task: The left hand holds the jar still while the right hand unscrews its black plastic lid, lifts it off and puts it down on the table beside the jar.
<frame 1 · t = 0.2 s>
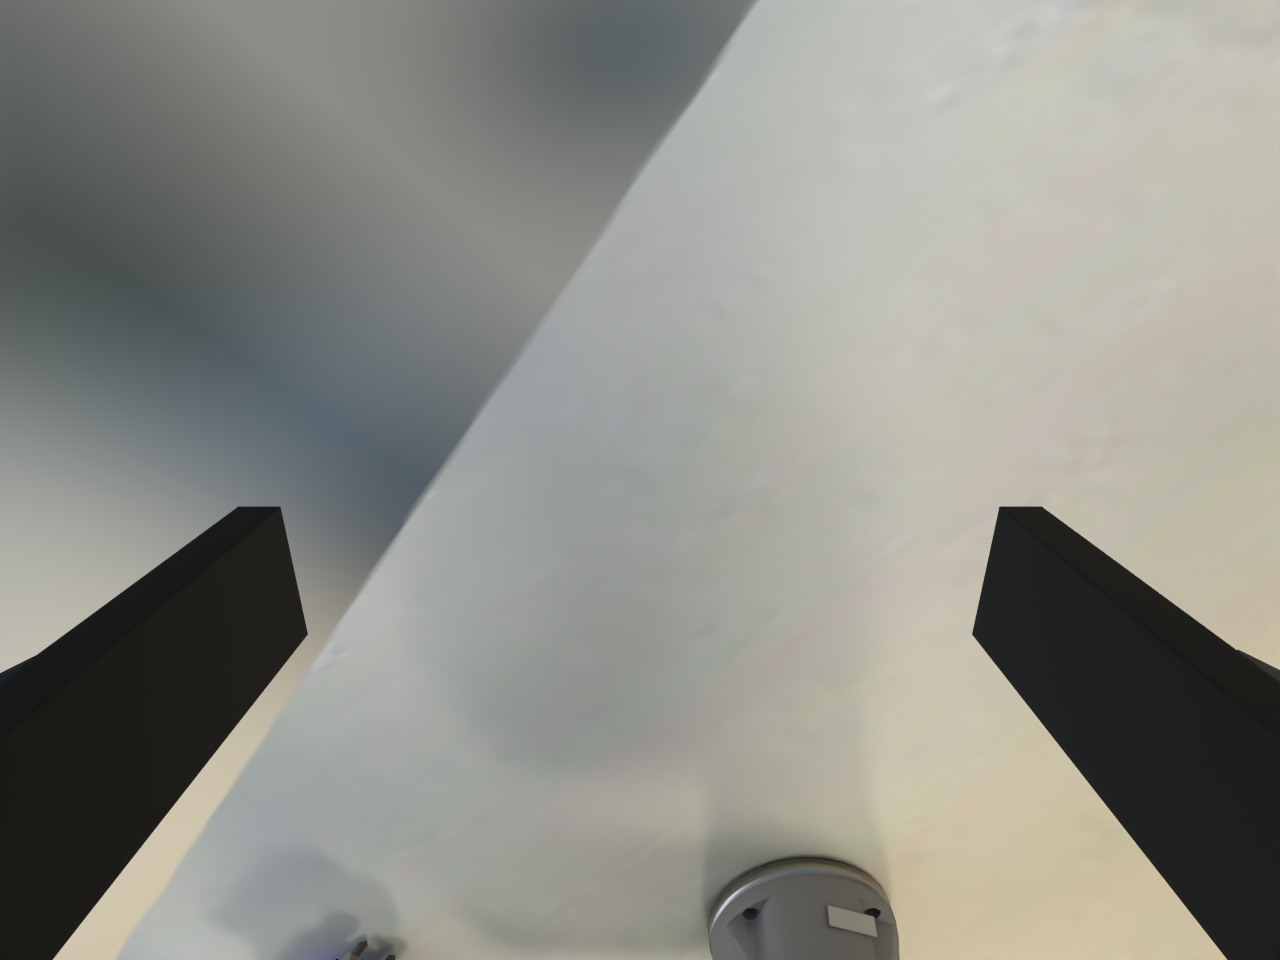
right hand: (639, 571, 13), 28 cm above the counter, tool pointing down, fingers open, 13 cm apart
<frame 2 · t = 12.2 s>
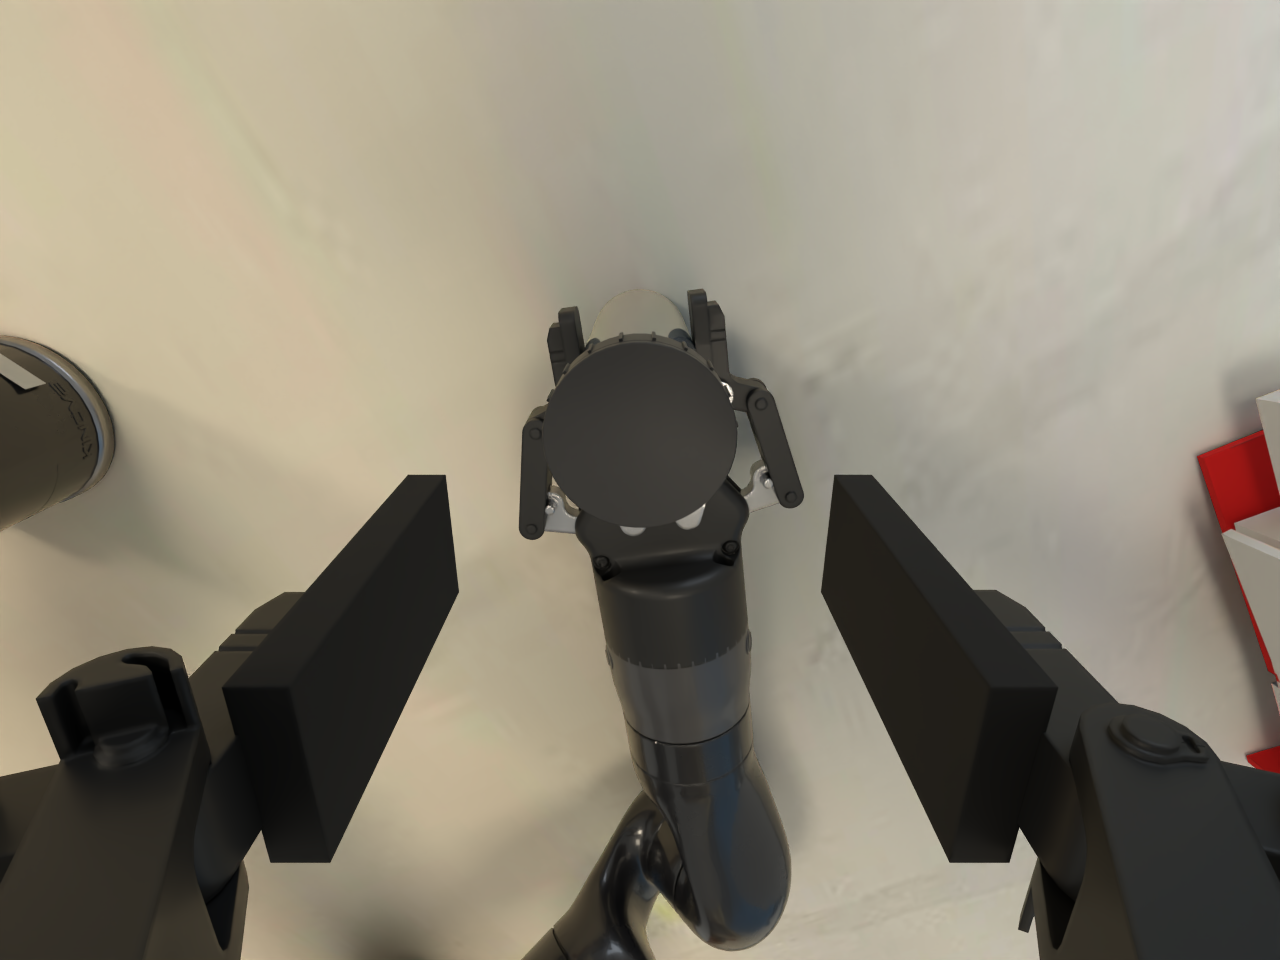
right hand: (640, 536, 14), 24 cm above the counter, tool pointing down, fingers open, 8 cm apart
left hand: (632, 302, 29), fingers closed on jar, 5 cm apart
jar: (639, 337, 36), on the counter, touching left hand
lid: (639, 436, 20), point 17 cm above the counter, screwed on, not yet turned
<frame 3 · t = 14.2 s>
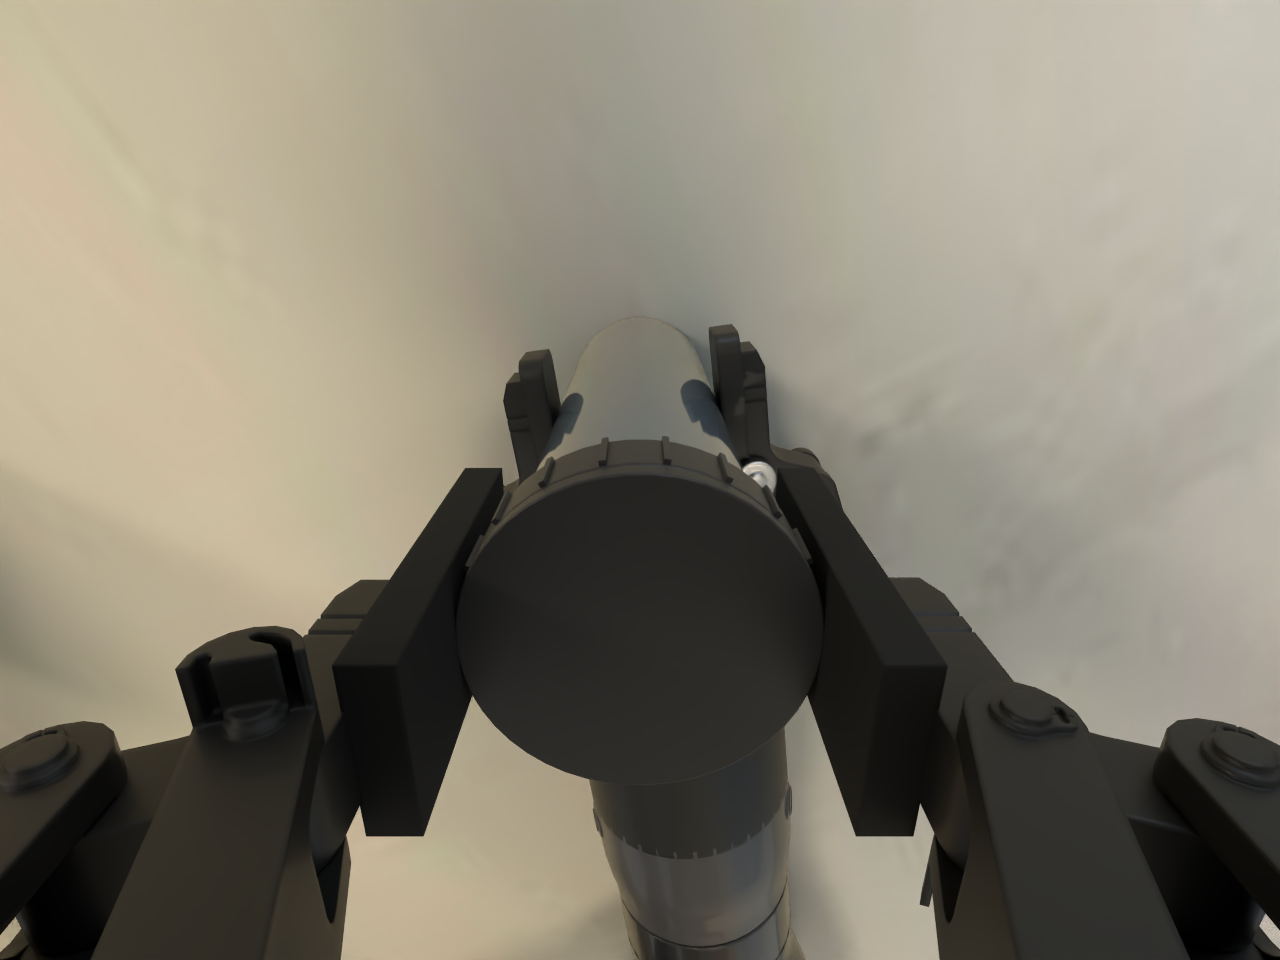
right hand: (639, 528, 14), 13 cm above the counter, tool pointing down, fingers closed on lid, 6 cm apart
left hand: (629, 344, 20), fingers closed on jar, 5 cm apart
jar: (639, 381, 27), on the counter, touching left hand
lid: (639, 632, 11), point 17 cm above the counter, screwed on, not yet turned, touching right hand
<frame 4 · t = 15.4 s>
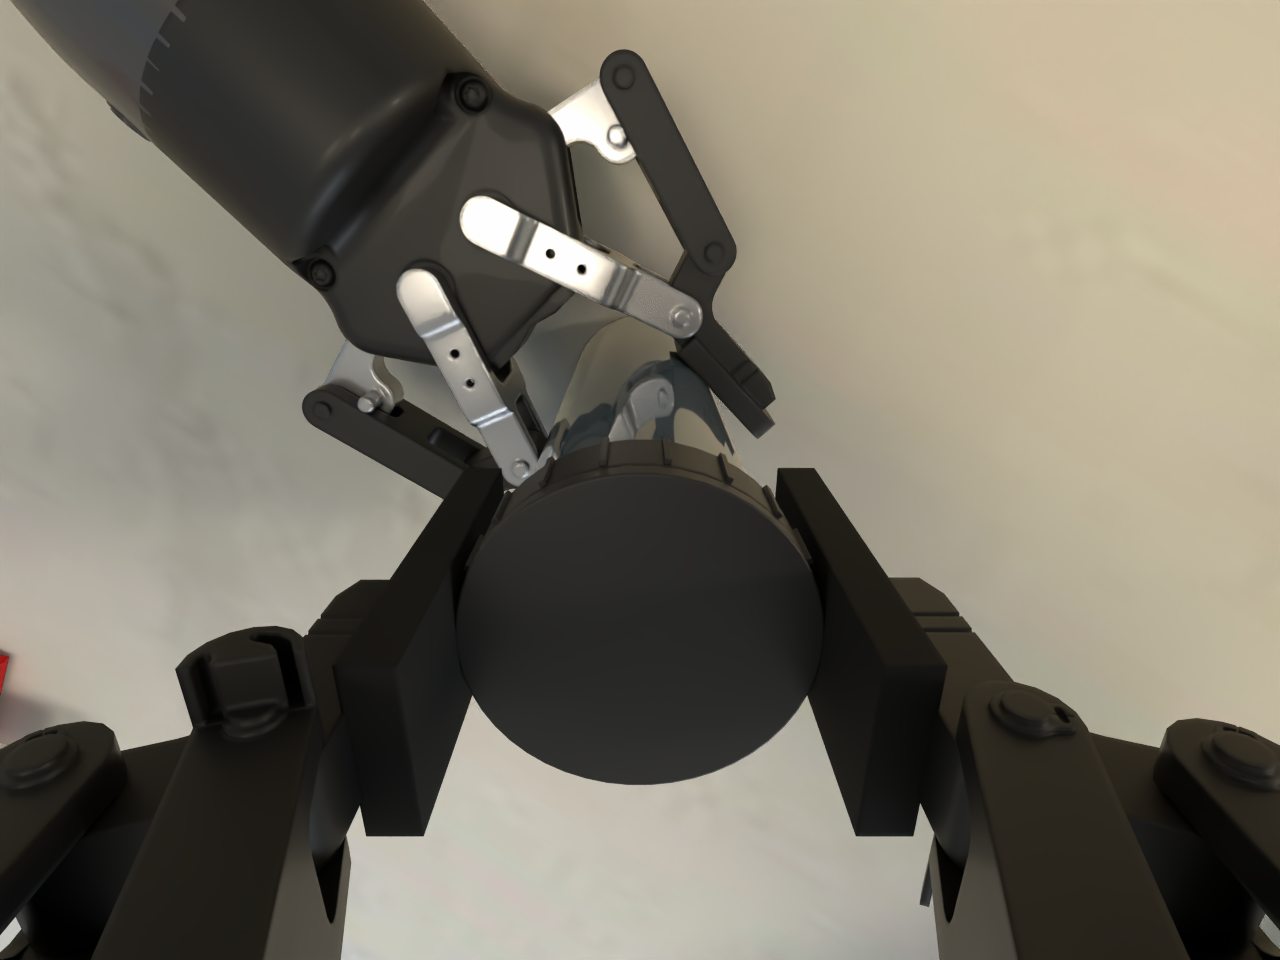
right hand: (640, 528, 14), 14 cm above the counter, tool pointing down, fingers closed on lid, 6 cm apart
left hand: (693, 480, 22), fingers closed on jar, 5 cm apart
jar: (639, 379, 27), on the counter, touching left hand
lid: (639, 632, 11), point 17 cm above the counter, off its thread, touching right hand
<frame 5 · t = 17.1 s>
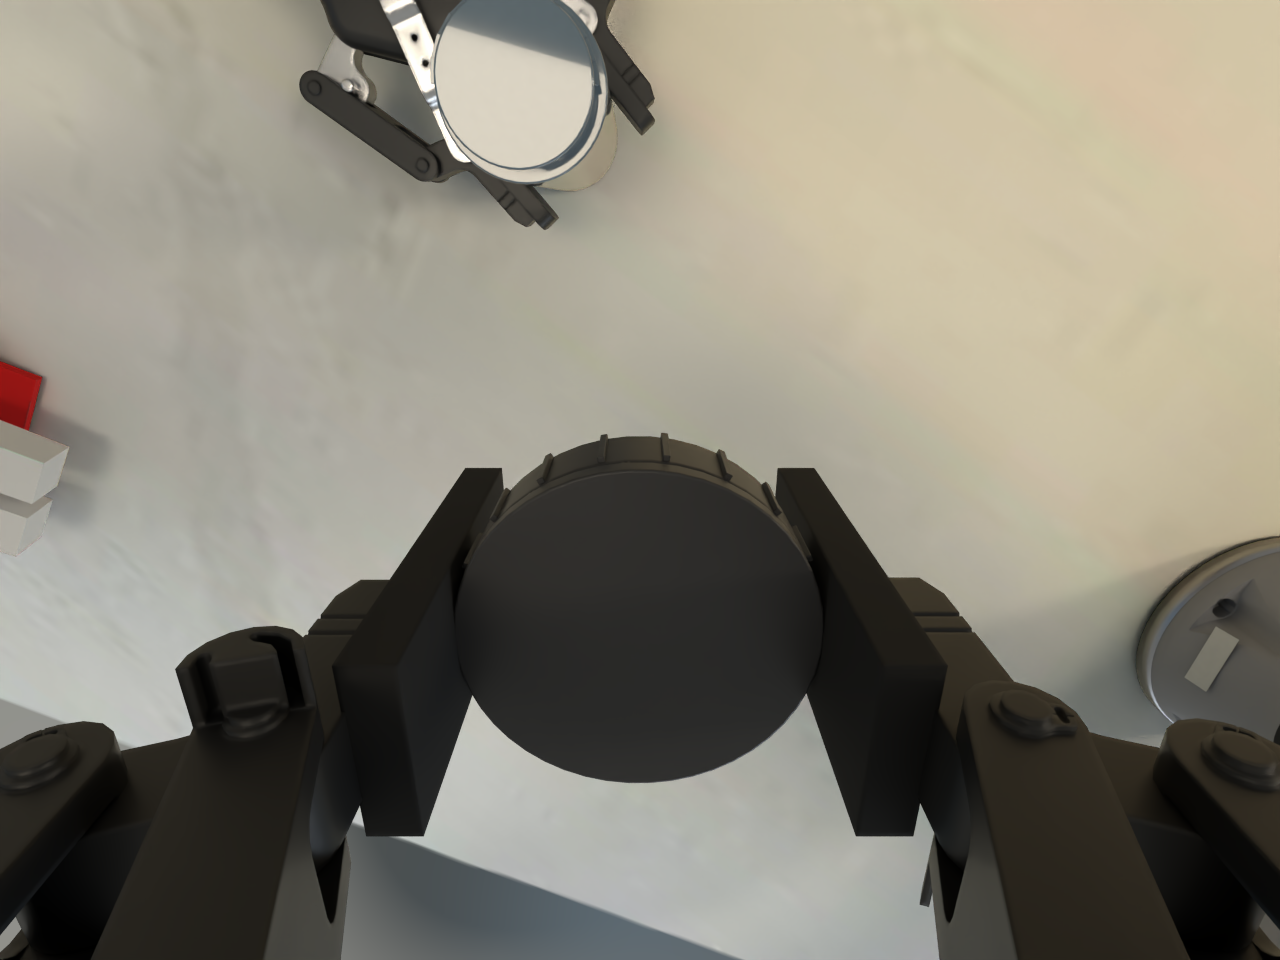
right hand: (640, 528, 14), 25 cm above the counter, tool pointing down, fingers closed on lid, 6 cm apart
jar: (567, 137, 34), on the counter, touching left hand
lid: (638, 629, 11), point 29 cm above the counter, off its thread, touching right hand
when the right hand's fingers open (0 cm above the counter, at t = 21.2 s): lid drops 3 cm, point 1 cm above the counter.
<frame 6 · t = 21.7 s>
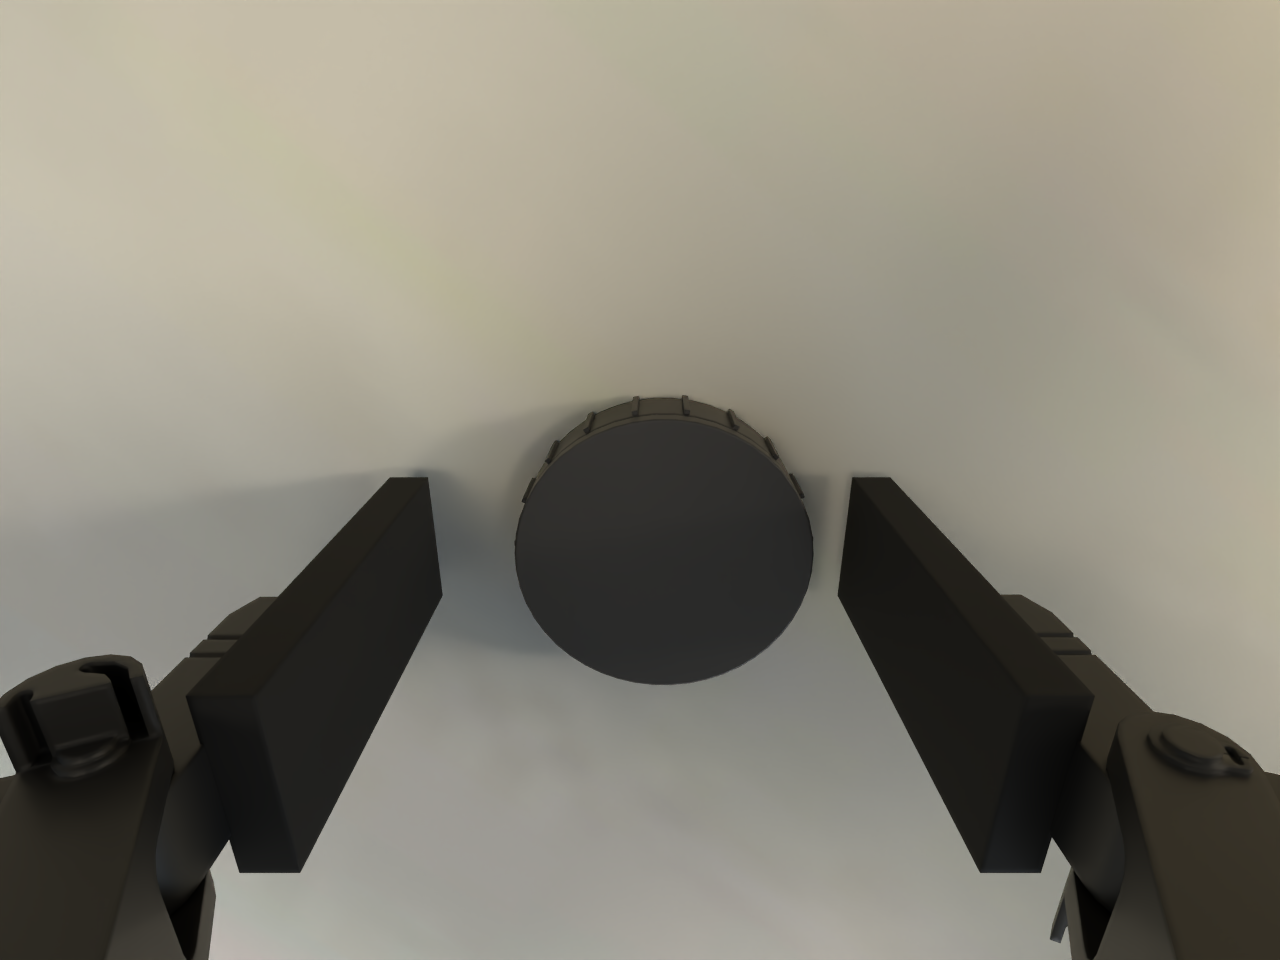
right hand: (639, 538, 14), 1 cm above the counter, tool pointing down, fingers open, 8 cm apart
lid: (663, 554, 13), point 1 cm above the counter, off its thread
when the left hand's fingers open (6 cm above the counter, at t = 22.3 s): jar stays where it is, on the counter.
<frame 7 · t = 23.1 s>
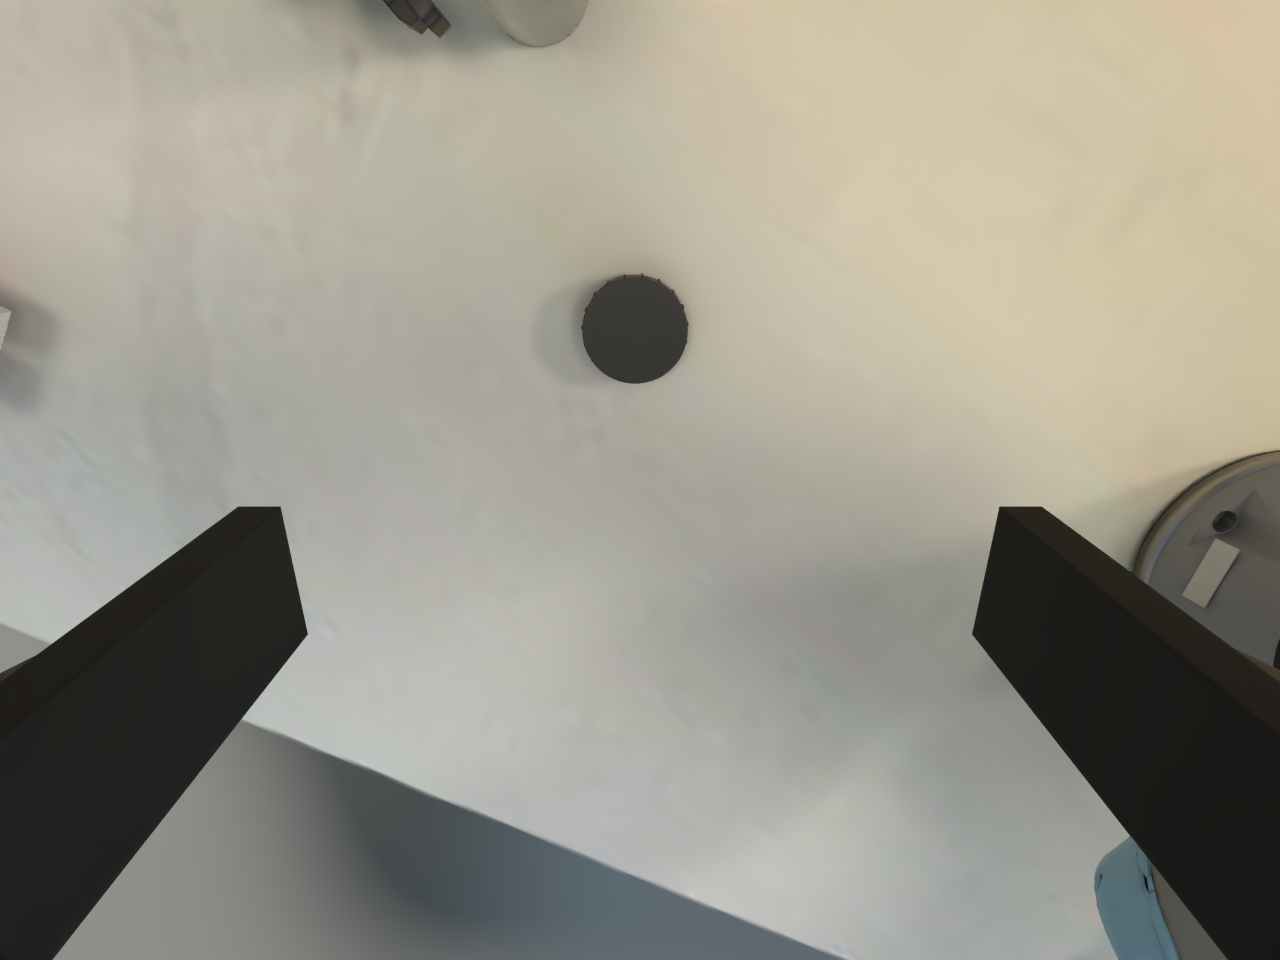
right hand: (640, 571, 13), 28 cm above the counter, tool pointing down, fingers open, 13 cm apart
lid: (635, 330, 37), point 1 cm above the counter, off its thread
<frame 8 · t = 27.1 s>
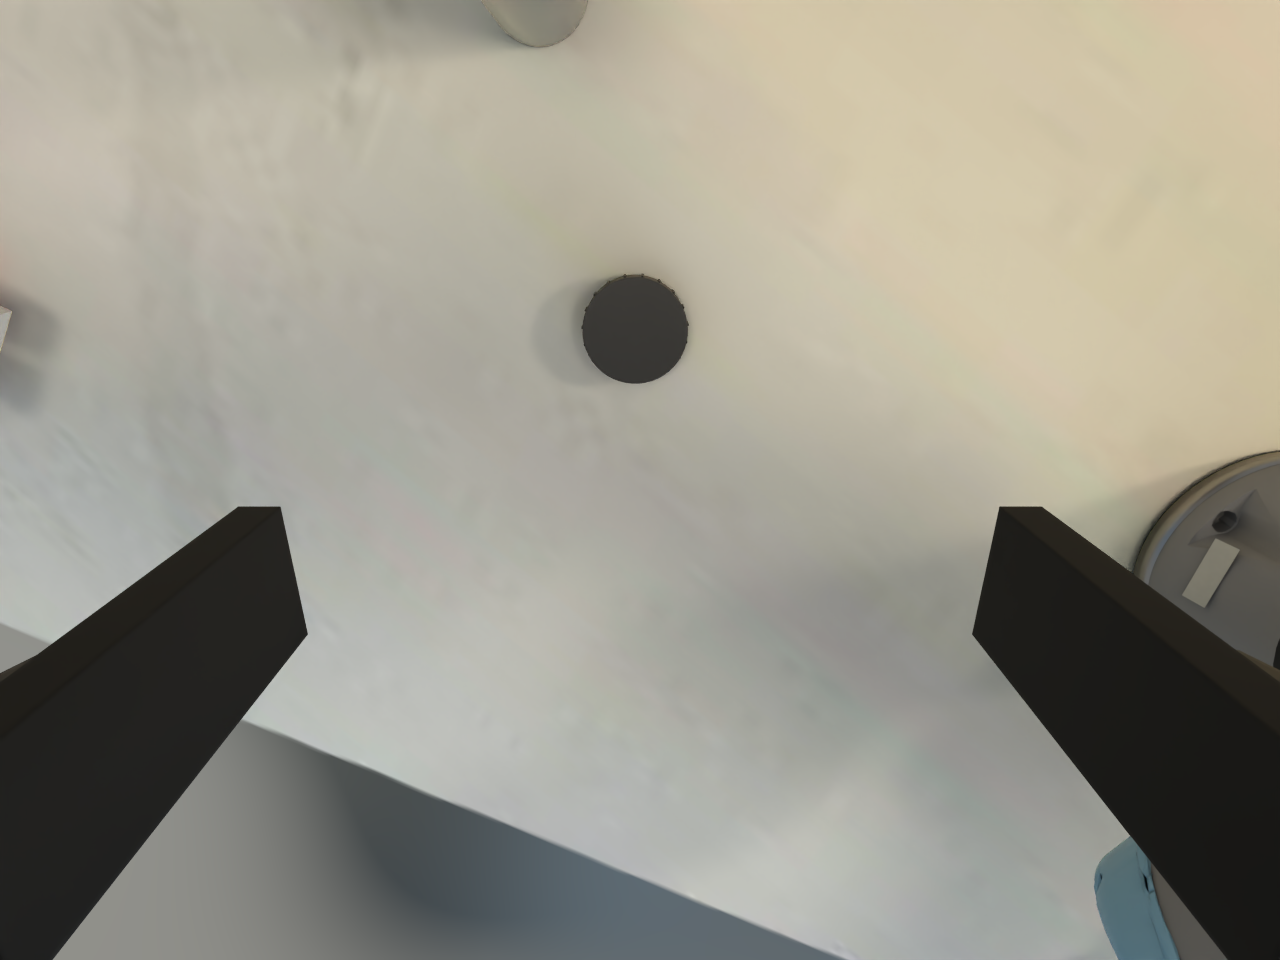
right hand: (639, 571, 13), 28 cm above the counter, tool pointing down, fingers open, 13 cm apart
lid: (635, 331, 37), point 1 cm above the counter, off its thread
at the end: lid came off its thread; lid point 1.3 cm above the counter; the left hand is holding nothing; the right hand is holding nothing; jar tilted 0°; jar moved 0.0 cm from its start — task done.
